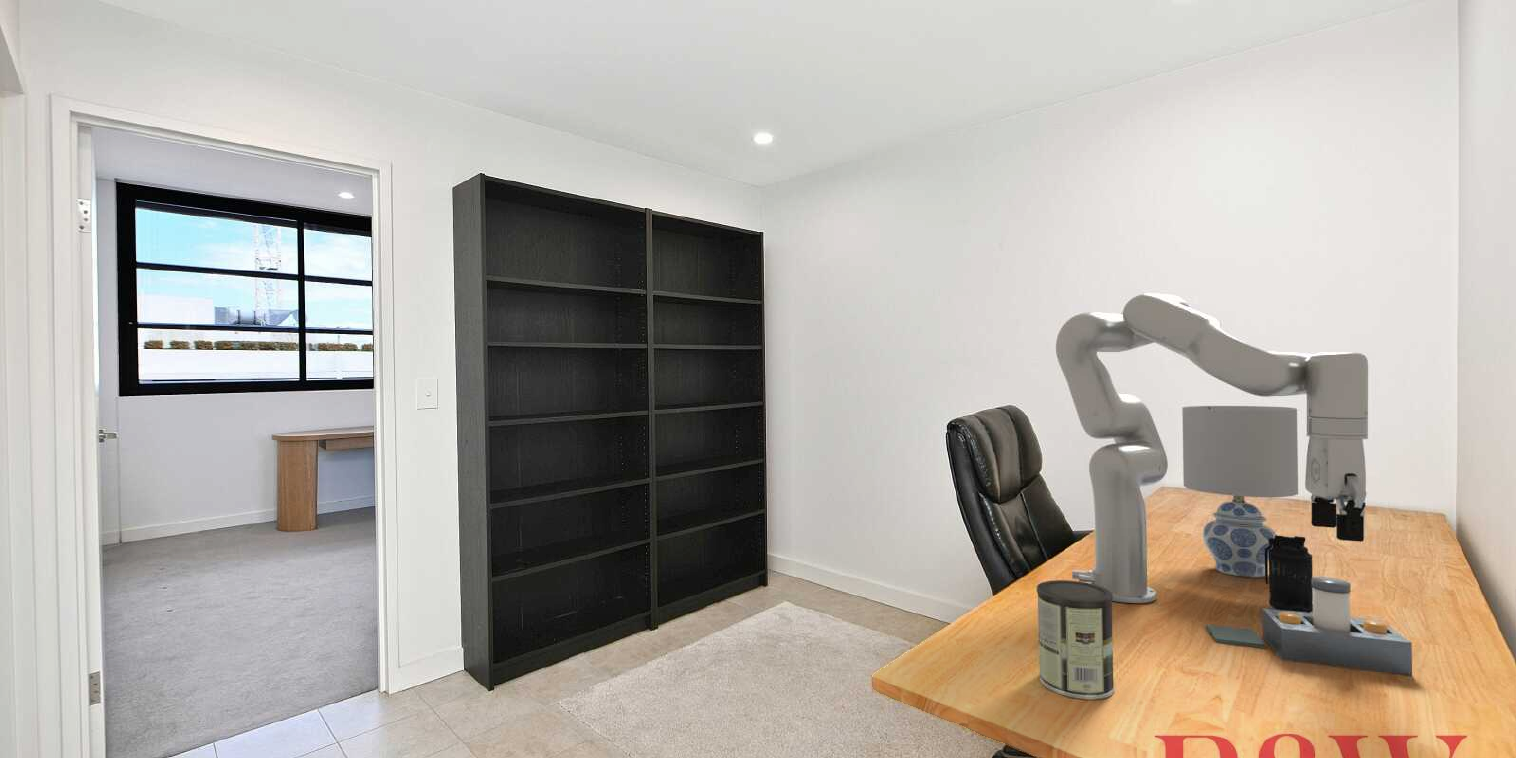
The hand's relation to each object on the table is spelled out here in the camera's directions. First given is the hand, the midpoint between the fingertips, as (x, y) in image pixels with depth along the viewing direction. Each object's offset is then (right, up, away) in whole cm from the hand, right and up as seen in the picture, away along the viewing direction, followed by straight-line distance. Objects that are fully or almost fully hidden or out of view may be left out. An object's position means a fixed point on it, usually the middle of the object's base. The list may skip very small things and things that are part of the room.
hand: (1336, 533), depth 107 cm
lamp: (+18, -20, +46) cm, 53 cm away
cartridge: (-1, -20, 0) cm, 20 cm away
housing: (-1, -20, 0) cm, 20 cm away
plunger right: (+4, -19, -2) cm, 20 cm away
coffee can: (-47, -21, -9) cm, 52 cm away
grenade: (+7, -20, +19) cm, 28 cm away
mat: (-11, -20, +8) cm, 24 cm away
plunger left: (-6, -19, +2) cm, 20 cm away
